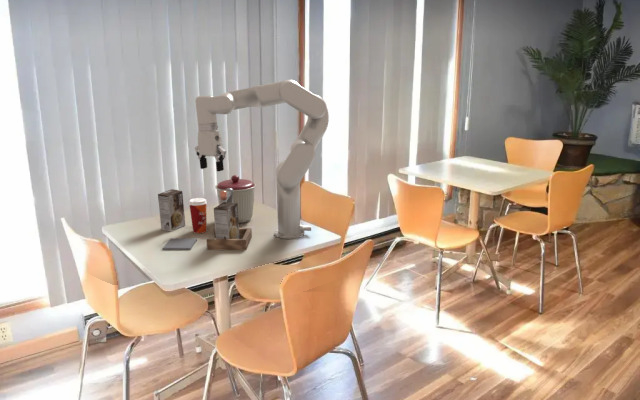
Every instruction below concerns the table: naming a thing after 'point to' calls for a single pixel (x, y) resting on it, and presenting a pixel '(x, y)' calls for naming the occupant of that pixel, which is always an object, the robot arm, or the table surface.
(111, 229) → the table surface
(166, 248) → the mat
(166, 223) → the coffee box
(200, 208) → the paper cup
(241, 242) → the wooden planter box
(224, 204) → the coffee box
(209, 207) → the table surface
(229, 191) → the lever
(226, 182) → the canister
